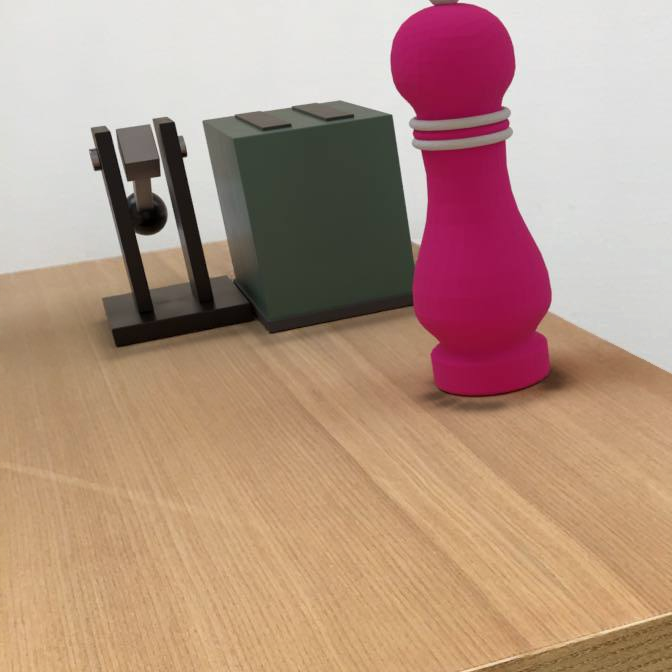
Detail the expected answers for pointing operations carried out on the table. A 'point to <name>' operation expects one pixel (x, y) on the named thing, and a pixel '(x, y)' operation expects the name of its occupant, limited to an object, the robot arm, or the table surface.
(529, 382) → the pepper mill
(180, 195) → the bracket
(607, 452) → the table surface
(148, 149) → the lever
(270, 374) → the table surface
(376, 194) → the toaster
